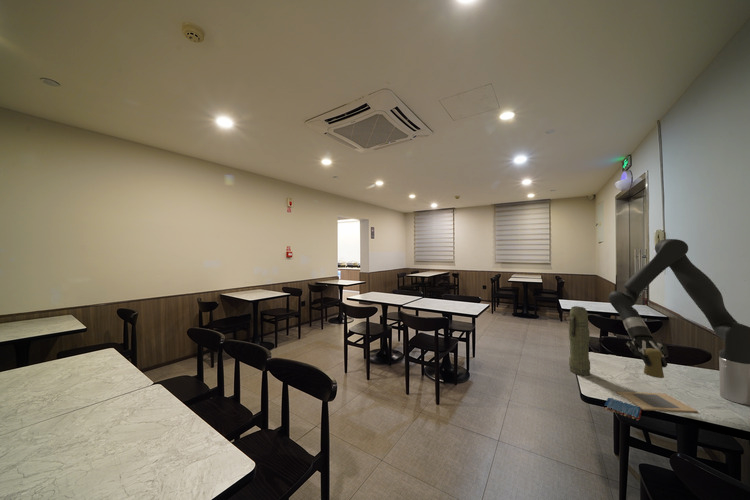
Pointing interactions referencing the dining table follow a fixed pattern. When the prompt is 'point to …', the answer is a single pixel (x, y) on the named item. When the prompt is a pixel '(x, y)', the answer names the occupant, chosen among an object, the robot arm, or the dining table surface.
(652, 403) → the tan flat board
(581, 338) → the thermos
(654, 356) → the cork
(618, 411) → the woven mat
